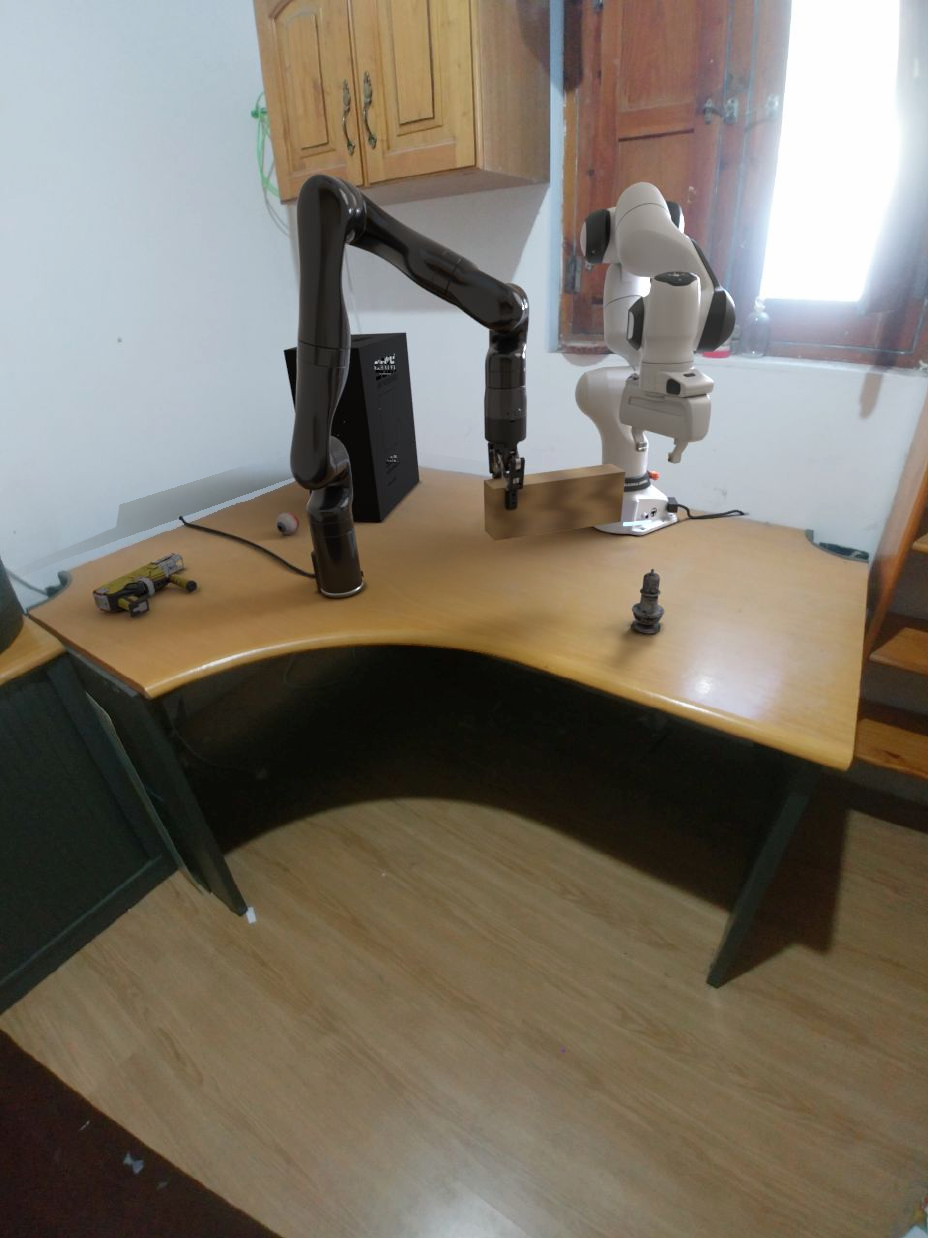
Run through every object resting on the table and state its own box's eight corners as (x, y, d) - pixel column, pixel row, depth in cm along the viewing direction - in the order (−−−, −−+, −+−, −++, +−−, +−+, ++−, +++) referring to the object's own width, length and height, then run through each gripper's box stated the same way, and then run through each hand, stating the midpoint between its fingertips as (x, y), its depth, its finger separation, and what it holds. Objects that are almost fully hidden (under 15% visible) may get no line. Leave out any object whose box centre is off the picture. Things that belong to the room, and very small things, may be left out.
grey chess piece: (663, 635, 111) (671, 576, 105) (630, 633, 112) (636, 575, 106) (661, 619, 116) (668, 562, 110) (629, 617, 117) (635, 561, 111)
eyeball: (273, 537, 164) (268, 516, 161) (287, 528, 169) (282, 508, 166) (291, 539, 161) (286, 518, 158) (305, 530, 166) (301, 510, 163)
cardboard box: (380, 521, 169) (358, 347, 147) (314, 519, 174) (283, 350, 151) (419, 480, 201) (406, 332, 178) (362, 479, 205) (342, 334, 183)
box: (607, 512, 126) (611, 463, 120) (620, 522, 121) (625, 471, 116) (484, 530, 120) (483, 479, 115) (494, 541, 115) (493, 488, 110)
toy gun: (221, 561, 143) (169, 550, 147) (142, 604, 123) (85, 590, 127) (223, 579, 146) (173, 568, 149) (147, 624, 125) (91, 610, 129)
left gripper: (473, 406, 112) (475, 494, 120) (498, 422, 100) (499, 519, 108) (511, 403, 113) (511, 490, 122) (540, 418, 101) (538, 513, 110)
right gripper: (613, 373, 113) (608, 447, 120) (692, 387, 97) (681, 472, 104) (640, 369, 115) (634, 442, 122) (722, 383, 99) (709, 466, 106)
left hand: (505, 503), depth 115 cm, fingers closed on box, 6 cm apart
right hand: (656, 456), depth 113 cm, fingers open, 8 cm apart
